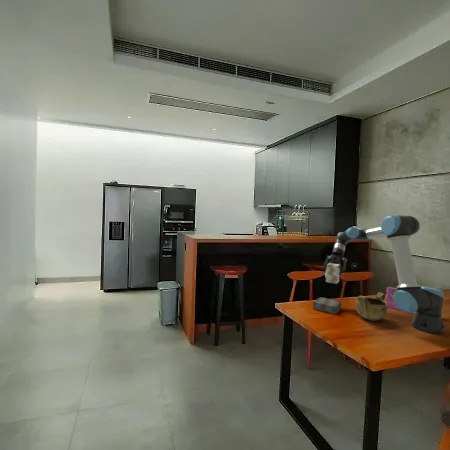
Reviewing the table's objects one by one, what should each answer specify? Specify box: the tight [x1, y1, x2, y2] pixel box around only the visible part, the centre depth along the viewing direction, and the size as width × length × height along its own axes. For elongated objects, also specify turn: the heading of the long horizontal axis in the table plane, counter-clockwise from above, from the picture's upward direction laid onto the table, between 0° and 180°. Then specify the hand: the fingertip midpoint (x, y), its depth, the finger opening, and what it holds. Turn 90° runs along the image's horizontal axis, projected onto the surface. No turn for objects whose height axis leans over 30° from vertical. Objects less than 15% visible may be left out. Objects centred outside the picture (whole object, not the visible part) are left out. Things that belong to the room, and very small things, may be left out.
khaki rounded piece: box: [355, 291, 388, 322], centre depth 177 cm, size 22×17×15 cm
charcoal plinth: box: [312, 297, 343, 315], centre depth 192 cm, size 14×14×5 cm
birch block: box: [325, 262, 340, 285], centre depth 202 cm, size 7×7×12 cm
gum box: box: [385, 285, 416, 315], centre depth 197 cm, size 24×8×14 cm, turn 43°
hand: (331, 277), depth 199 cm, fingers closed on birch block, 7 cm apart
